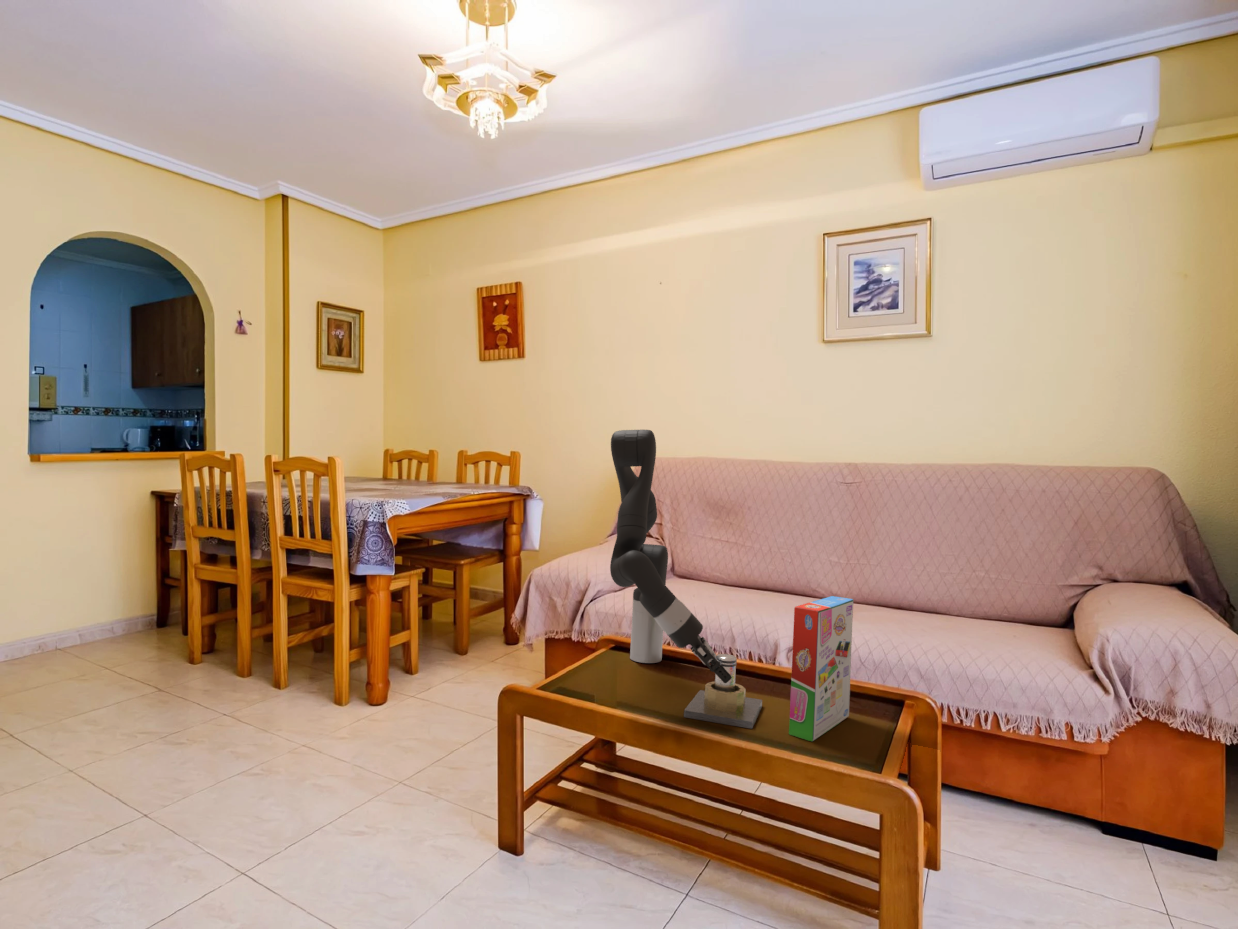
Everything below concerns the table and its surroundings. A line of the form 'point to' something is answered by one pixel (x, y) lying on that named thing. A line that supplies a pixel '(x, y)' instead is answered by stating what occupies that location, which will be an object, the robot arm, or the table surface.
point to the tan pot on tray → (724, 707)
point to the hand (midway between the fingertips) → (725, 674)
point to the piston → (730, 667)
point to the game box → (820, 666)
